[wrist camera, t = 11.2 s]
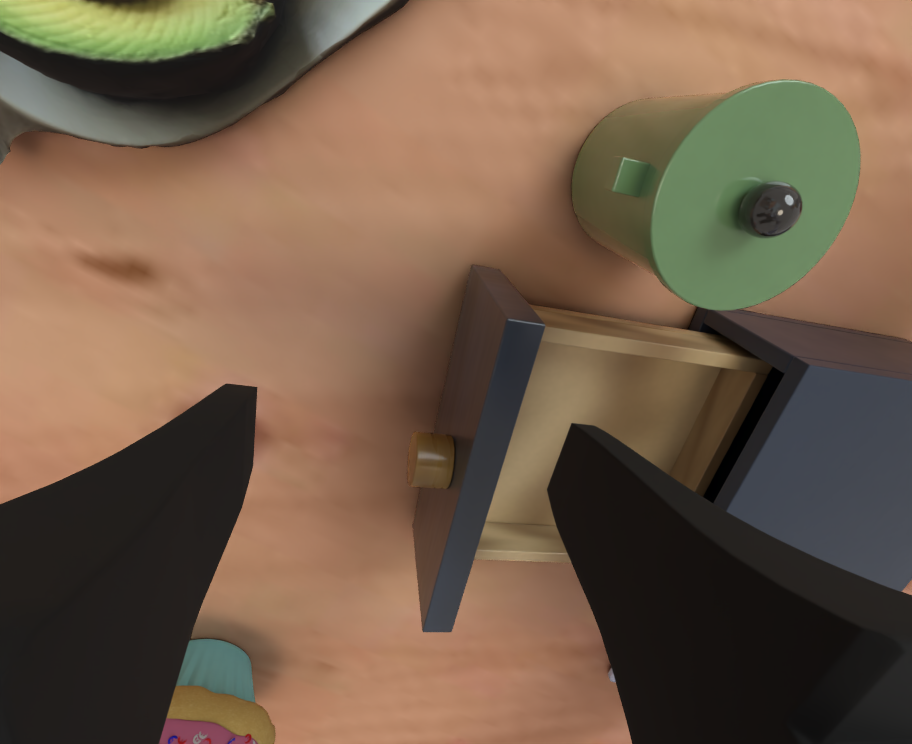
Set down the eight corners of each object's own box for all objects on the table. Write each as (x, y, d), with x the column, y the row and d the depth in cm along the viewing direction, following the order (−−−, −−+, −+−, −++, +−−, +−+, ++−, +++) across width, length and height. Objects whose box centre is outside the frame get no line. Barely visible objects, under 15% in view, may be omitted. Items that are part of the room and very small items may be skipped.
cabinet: (599, 529, 27) (656, 633, 22) (699, 302, 22) (810, 365, 16) (775, 539, 30) (866, 634, 24) (905, 338, 24) (1060, 403, 19)
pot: (688, 269, 21) (840, 343, 14) (532, 239, 19) (618, 305, 12) (751, 116, 18) (973, 117, 12) (578, 68, 17) (718, 34, 10)
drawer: (383, 523, 24) (386, 632, 19) (435, 257, 19) (458, 310, 13) (630, 536, 27) (689, 633, 22) (738, 311, 22) (850, 371, 16)
